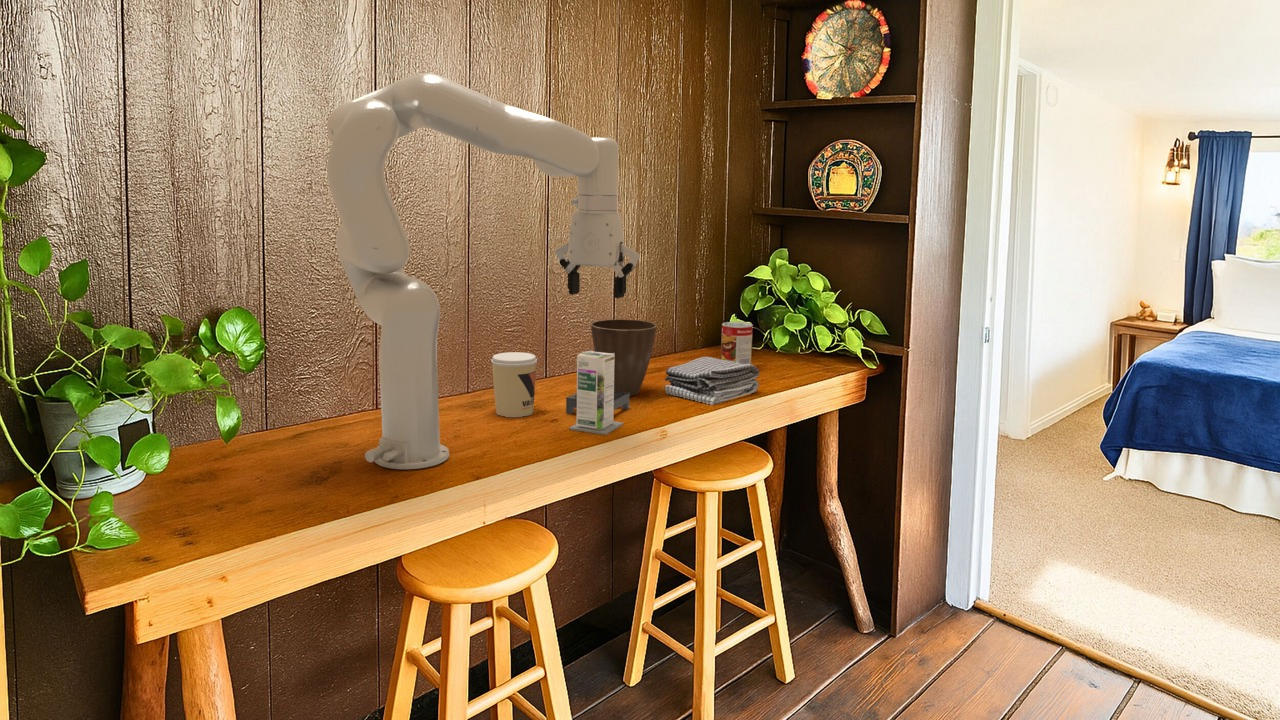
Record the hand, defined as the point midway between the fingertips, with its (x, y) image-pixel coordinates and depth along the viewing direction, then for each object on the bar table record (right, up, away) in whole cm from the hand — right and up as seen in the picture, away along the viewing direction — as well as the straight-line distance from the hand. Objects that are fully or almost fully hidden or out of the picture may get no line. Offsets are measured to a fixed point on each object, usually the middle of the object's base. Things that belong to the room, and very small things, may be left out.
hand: (596, 295), depth 166 cm
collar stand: (-1, -23, +17) cm, 29 cm away
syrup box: (-1, -25, +5) cm, 26 cm away
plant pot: (+4, -20, +33) cm, 39 cm away
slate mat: (0, -26, +5) cm, 26 cm away
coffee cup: (-18, -24, +15) cm, 33 cm away
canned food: (+33, -15, +60) cm, 70 cm away
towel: (+25, -21, +34) cm, 47 cm away
